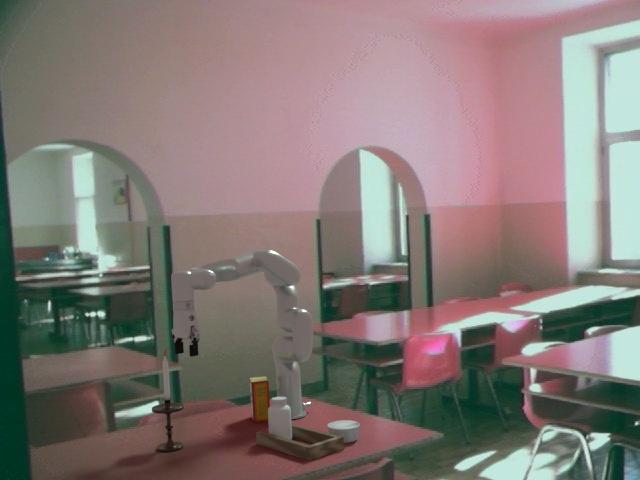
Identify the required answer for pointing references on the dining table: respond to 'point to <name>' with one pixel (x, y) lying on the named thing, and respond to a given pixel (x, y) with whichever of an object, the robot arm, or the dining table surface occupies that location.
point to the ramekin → (345, 429)
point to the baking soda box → (259, 398)
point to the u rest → (322, 440)
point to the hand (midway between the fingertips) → (186, 354)
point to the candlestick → (168, 412)
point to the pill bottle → (280, 418)
